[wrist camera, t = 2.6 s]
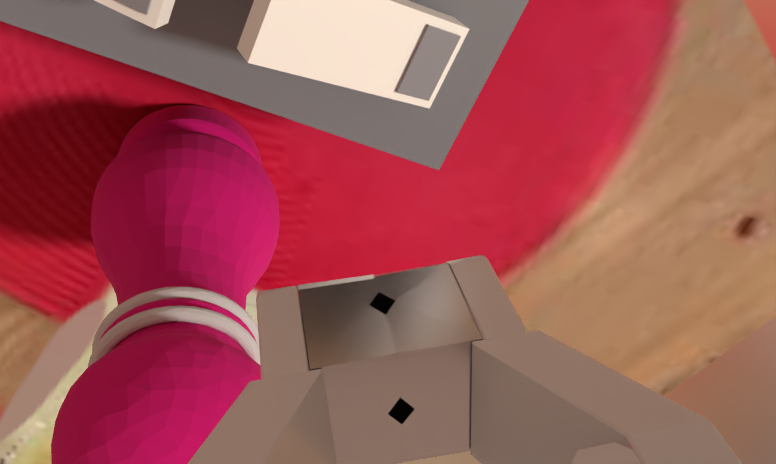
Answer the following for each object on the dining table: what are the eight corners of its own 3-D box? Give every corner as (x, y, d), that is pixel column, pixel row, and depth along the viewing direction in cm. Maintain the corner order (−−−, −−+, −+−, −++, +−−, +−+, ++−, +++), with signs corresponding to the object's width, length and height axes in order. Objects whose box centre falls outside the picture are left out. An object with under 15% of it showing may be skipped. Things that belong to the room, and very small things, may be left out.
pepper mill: (79, 198, 32) (-67, 654, 16) (149, 61, 29) (63, 436, 13) (226, 257, 35) (235, 689, 19) (302, 139, 33) (388, 520, 16)
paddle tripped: (415, 95, 26) (431, 110, 25) (236, 48, 21) (249, 64, 21) (453, 17, 25) (471, 30, 24) (271, -50, 20) (286, -36, 19)
